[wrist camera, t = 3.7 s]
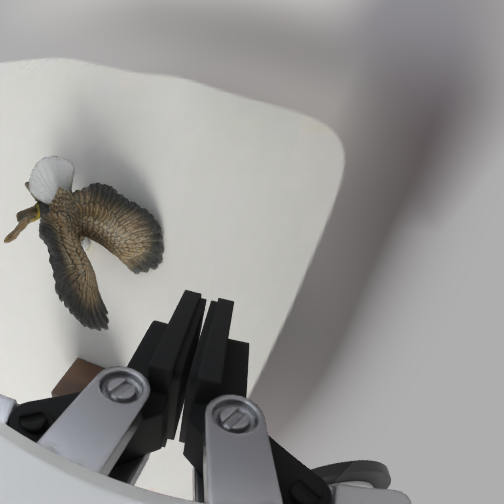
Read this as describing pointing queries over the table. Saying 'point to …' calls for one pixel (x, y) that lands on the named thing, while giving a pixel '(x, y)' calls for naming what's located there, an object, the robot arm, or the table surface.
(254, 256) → the table surface
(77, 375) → the walnut block
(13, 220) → the table surface
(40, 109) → the table surface
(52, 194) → the eagle figurine
